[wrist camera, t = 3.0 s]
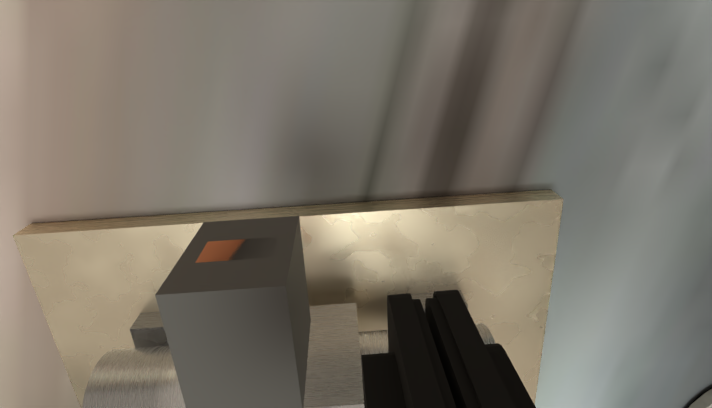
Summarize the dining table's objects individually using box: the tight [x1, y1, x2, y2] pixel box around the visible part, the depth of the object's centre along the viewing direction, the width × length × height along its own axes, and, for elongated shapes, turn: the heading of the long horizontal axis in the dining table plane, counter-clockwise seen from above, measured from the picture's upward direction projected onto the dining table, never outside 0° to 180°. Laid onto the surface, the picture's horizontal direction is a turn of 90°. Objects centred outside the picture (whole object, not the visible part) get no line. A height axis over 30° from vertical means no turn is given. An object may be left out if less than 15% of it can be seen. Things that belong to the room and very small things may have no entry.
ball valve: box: [13, 190, 563, 408], centre depth 23 cm, size 30×16×12 cm, turn 93°
